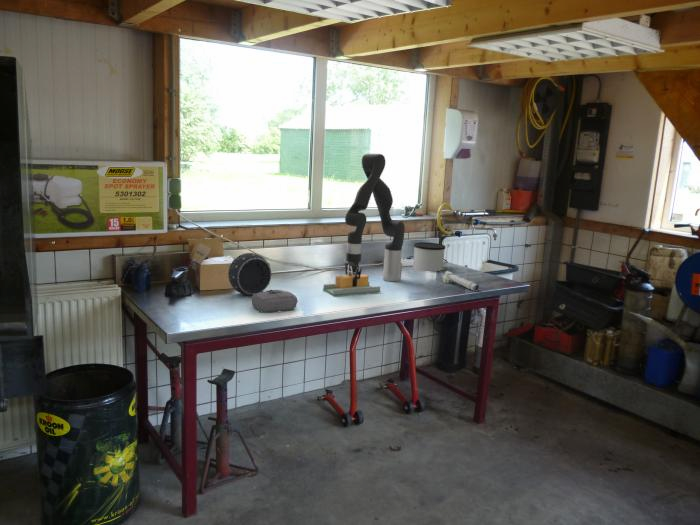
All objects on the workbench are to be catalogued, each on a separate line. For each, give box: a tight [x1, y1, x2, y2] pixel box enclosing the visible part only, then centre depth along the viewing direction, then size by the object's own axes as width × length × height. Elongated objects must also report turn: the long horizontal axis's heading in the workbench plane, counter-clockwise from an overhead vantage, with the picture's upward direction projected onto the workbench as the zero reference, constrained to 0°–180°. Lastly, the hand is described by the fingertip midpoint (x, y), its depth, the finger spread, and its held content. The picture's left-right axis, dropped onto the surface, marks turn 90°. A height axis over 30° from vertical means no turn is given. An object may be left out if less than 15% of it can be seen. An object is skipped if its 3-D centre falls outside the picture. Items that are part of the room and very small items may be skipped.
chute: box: [334, 273, 369, 288], centre depth 299 cm, size 16×6×5 cm, turn 118°
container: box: [412, 241, 446, 272], centre depth 365 cm, size 19×19×15 cm
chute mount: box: [322, 280, 381, 297], centre depth 300 cm, size 26×13×3 cm, turn 118°
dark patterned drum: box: [227, 252, 273, 297], centre depth 282 cm, size 11×20×20 cm, turn 126°
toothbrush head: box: [442, 270, 480, 292], centre depth 325 cm, size 5×7×25 cm
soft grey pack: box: [251, 289, 299, 313], centre depth 263 cm, size 15×8×20 cm
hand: (352, 285), depth 300 cm, fingers closed on chute, 4 cm apart
